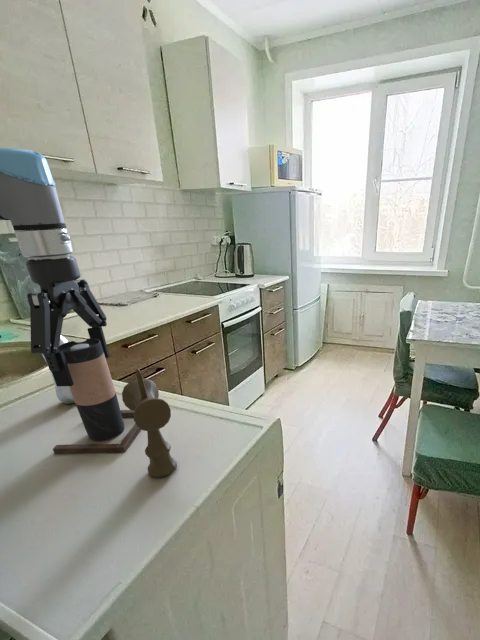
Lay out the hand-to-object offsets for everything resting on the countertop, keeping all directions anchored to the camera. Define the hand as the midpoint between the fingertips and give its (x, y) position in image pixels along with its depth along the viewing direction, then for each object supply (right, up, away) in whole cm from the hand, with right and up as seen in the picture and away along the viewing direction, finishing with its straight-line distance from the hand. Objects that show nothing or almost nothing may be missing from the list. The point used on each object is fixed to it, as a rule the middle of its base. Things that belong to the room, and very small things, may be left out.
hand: (85, 370), depth 70 cm
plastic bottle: (-15, -7, +21) cm, 26 cm away
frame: (+1, -13, +6) cm, 15 cm away
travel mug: (+1, -13, +6) cm, 15 cm away
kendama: (+17, -18, -6) cm, 26 cm away
